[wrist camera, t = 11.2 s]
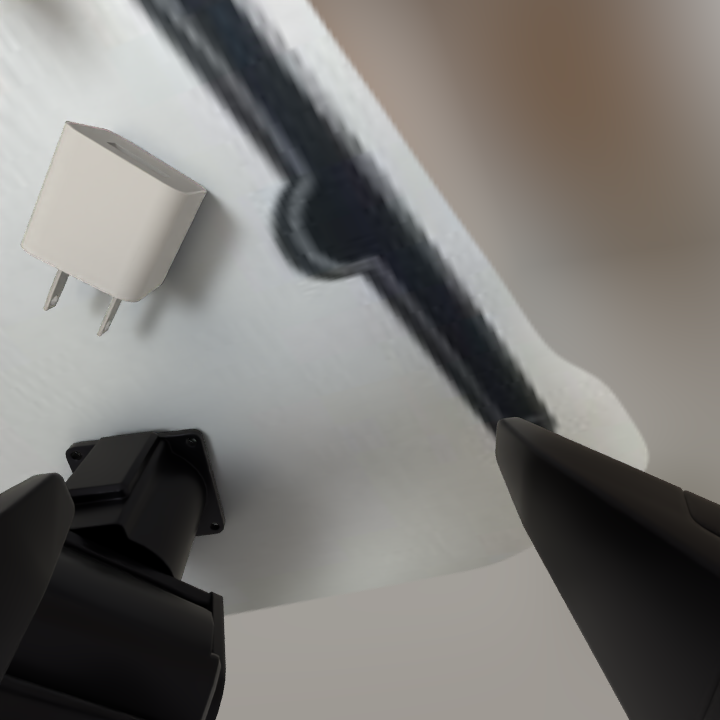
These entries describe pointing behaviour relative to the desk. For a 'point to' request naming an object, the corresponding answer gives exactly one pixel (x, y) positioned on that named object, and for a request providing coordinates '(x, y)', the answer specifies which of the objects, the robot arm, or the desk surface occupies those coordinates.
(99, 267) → the usb wall charger
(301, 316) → the desk surface
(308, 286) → the desk surface
